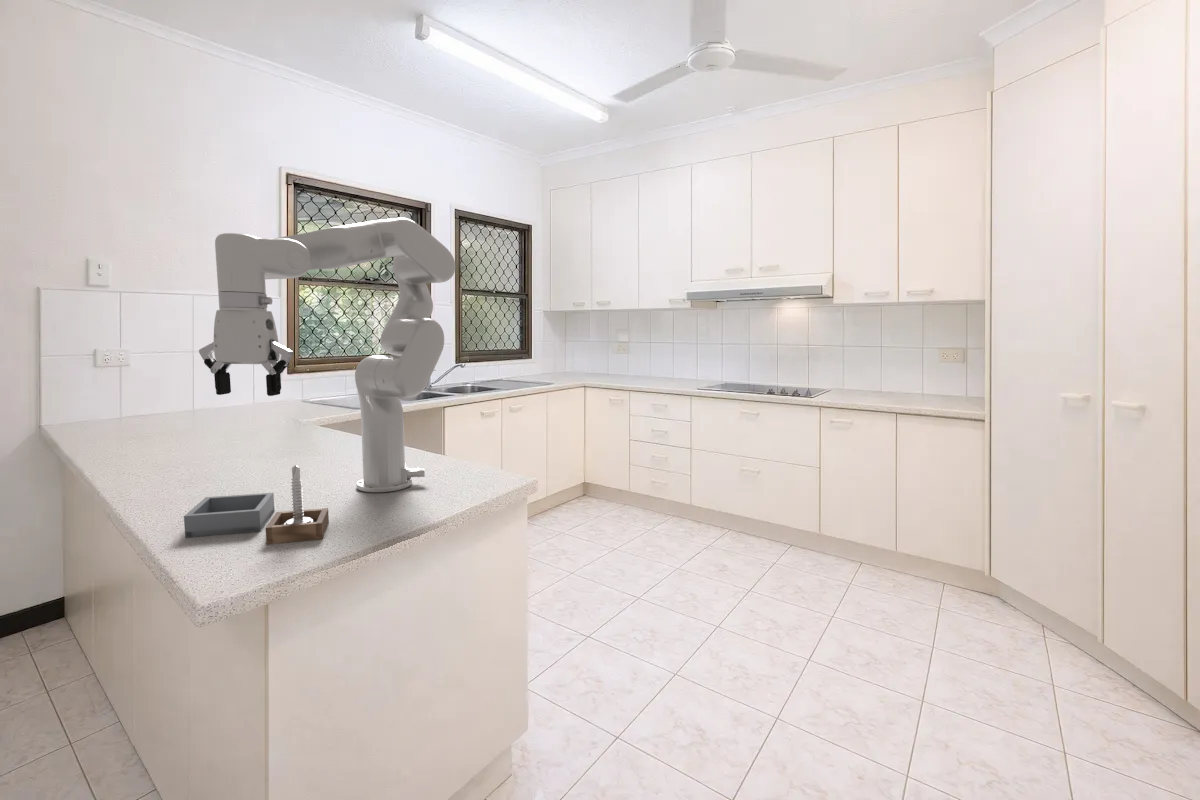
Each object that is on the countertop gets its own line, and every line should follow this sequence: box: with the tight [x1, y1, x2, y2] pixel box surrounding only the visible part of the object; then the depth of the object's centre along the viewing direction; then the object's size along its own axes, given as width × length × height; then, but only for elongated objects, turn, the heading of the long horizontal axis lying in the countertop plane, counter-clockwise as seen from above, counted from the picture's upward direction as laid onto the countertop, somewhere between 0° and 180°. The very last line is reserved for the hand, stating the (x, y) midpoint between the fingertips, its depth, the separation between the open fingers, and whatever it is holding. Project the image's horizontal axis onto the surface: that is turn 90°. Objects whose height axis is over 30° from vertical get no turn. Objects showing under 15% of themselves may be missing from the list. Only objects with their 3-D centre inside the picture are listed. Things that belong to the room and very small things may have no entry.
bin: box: [183, 492, 275, 539], centre depth 111 cm, size 12×12×4 cm
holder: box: [265, 507, 330, 545], centre depth 106 cm, size 9×9×3 cm
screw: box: [284, 464, 313, 525], centre depth 106 cm, size 13×5×5 cm
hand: (248, 394), depth 108 cm, fingers open, 9 cm apart
